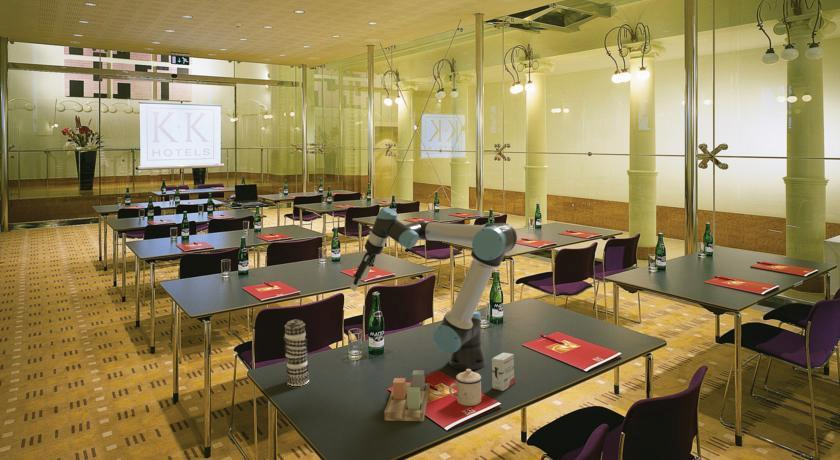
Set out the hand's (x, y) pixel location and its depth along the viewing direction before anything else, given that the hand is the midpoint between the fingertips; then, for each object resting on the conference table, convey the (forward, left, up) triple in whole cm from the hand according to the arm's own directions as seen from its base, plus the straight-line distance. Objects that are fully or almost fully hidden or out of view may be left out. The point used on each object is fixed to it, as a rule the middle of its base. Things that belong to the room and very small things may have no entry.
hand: (358, 283), depth 241 cm
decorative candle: (+19, +28, -33) cm, 47 cm away
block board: (-27, +45, -33) cm, 62 cm away
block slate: (-30, +38, -30) cm, 57 cm away
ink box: (-61, +28, -33) cm, 75 cm away
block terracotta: (-24, +45, -30) cm, 59 cm away
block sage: (-30, +53, -30) cm, 68 cm away
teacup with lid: (-47, +42, -33) cm, 71 cm away
